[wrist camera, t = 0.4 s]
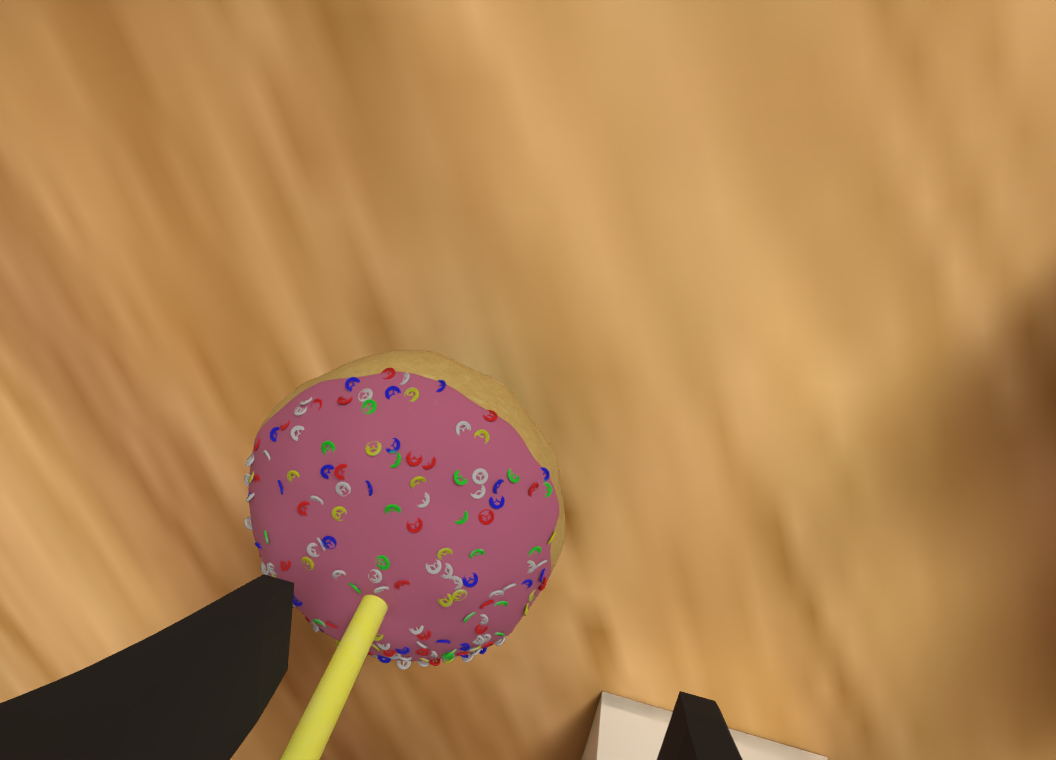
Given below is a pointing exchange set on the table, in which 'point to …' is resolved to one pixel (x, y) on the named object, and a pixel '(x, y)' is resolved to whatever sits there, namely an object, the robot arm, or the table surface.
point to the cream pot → (661, 735)
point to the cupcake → (403, 516)
